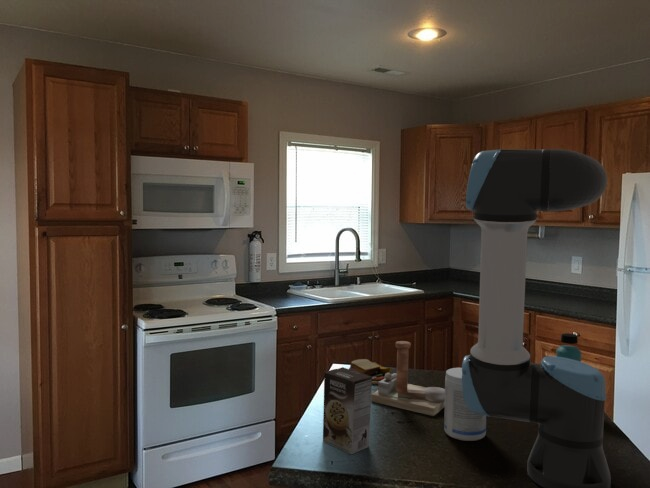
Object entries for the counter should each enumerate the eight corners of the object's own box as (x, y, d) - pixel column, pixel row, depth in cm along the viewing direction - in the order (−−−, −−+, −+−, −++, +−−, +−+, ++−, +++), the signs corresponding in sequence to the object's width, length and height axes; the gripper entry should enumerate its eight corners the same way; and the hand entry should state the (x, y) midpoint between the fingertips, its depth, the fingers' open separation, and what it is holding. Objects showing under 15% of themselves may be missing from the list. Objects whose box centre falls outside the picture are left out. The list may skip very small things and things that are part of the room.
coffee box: (321, 441, 123) (322, 371, 122) (340, 433, 128) (342, 366, 127) (351, 455, 117) (353, 381, 116) (370, 446, 122) (372, 375, 120)
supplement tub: (494, 437, 128) (496, 375, 127) (466, 446, 123) (468, 381, 122) (462, 422, 136) (464, 364, 135) (434, 430, 131) (437, 370, 130)
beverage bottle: (577, 413, 143) (582, 338, 142) (550, 408, 147) (554, 334, 145) (581, 406, 149) (585, 333, 147) (554, 401, 152) (558, 330, 151)
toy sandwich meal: (369, 388, 161) (369, 372, 160) (342, 376, 172) (342, 361, 171) (401, 381, 168) (401, 366, 167) (372, 369, 179) (373, 355, 178)
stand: (433, 416, 140) (434, 388, 139) (371, 401, 149) (371, 375, 149) (452, 400, 151) (453, 375, 151) (393, 387, 161) (394, 363, 161)
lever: (446, 395, 149) (448, 342, 147) (447, 402, 143) (449, 348, 142) (394, 391, 151) (395, 339, 150) (393, 398, 145) (395, 345, 144)
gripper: (492, 231, 156) (473, 312, 153) (506, 223, 143) (486, 311, 140) (518, 238, 155) (499, 319, 152) (534, 230, 143) (515, 319, 139)
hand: (493, 315), depth 146 cm, fingers closed
